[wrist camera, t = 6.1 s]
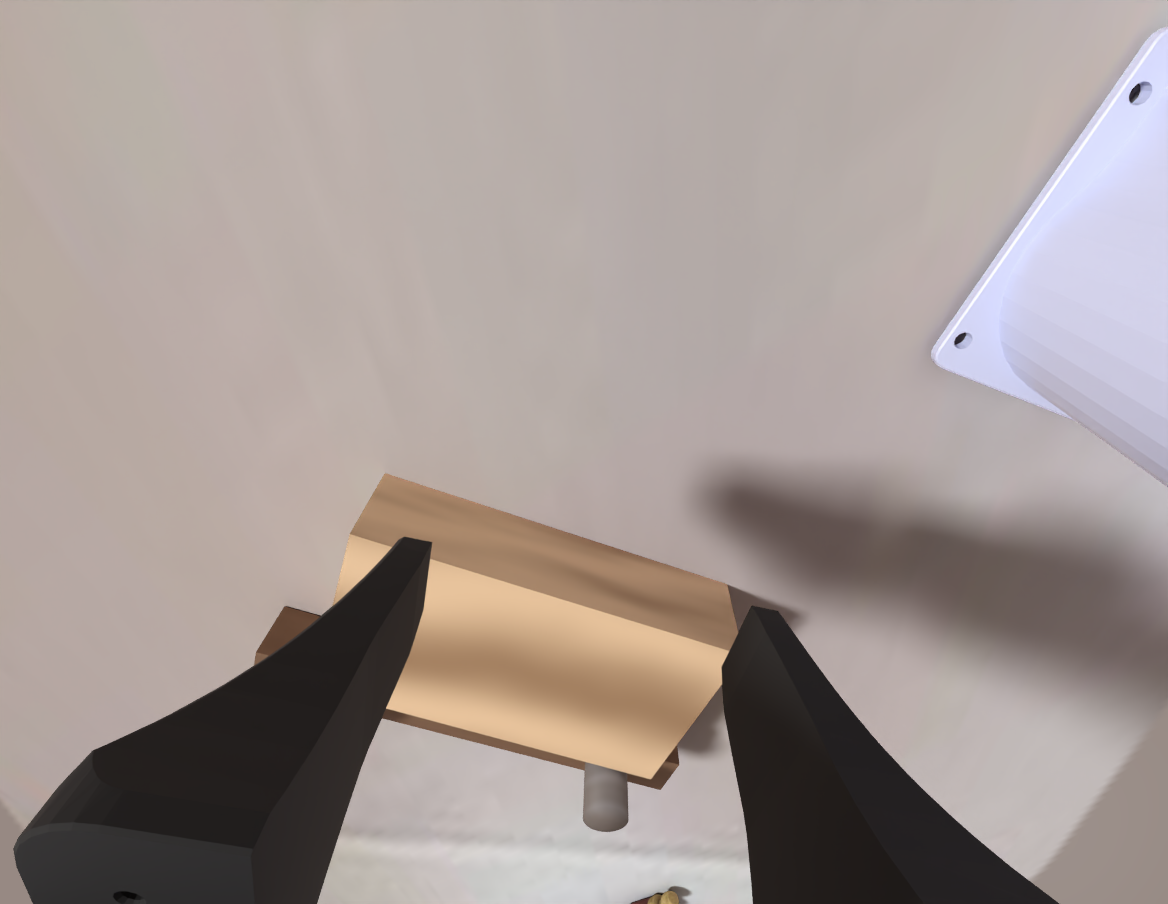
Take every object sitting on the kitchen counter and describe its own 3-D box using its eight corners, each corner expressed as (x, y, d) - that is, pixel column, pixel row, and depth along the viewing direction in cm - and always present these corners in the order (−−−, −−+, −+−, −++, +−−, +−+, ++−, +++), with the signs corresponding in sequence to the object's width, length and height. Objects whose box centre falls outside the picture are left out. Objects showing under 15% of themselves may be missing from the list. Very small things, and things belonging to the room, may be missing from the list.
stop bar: (284, 606, 27) (222, 706, 22) (674, 714, 29) (684, 823, 25) (279, 637, 28) (218, 739, 23) (656, 739, 30) (664, 848, 26)
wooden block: (388, 467, 24) (349, 534, 20) (725, 577, 26) (743, 655, 22) (350, 612, 27) (312, 689, 24) (646, 697, 30) (650, 779, 26)
